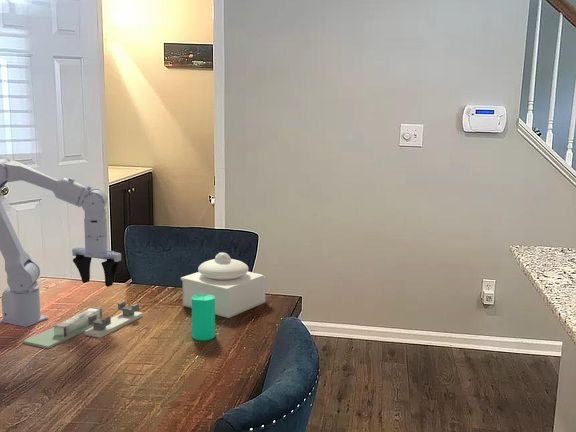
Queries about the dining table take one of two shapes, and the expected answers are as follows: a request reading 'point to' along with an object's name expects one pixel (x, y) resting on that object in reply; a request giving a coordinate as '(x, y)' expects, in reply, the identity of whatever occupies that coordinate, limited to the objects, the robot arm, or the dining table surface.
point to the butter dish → (226, 285)
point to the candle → (203, 316)
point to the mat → (51, 338)
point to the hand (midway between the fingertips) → (97, 283)
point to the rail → (76, 322)
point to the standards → (113, 320)
